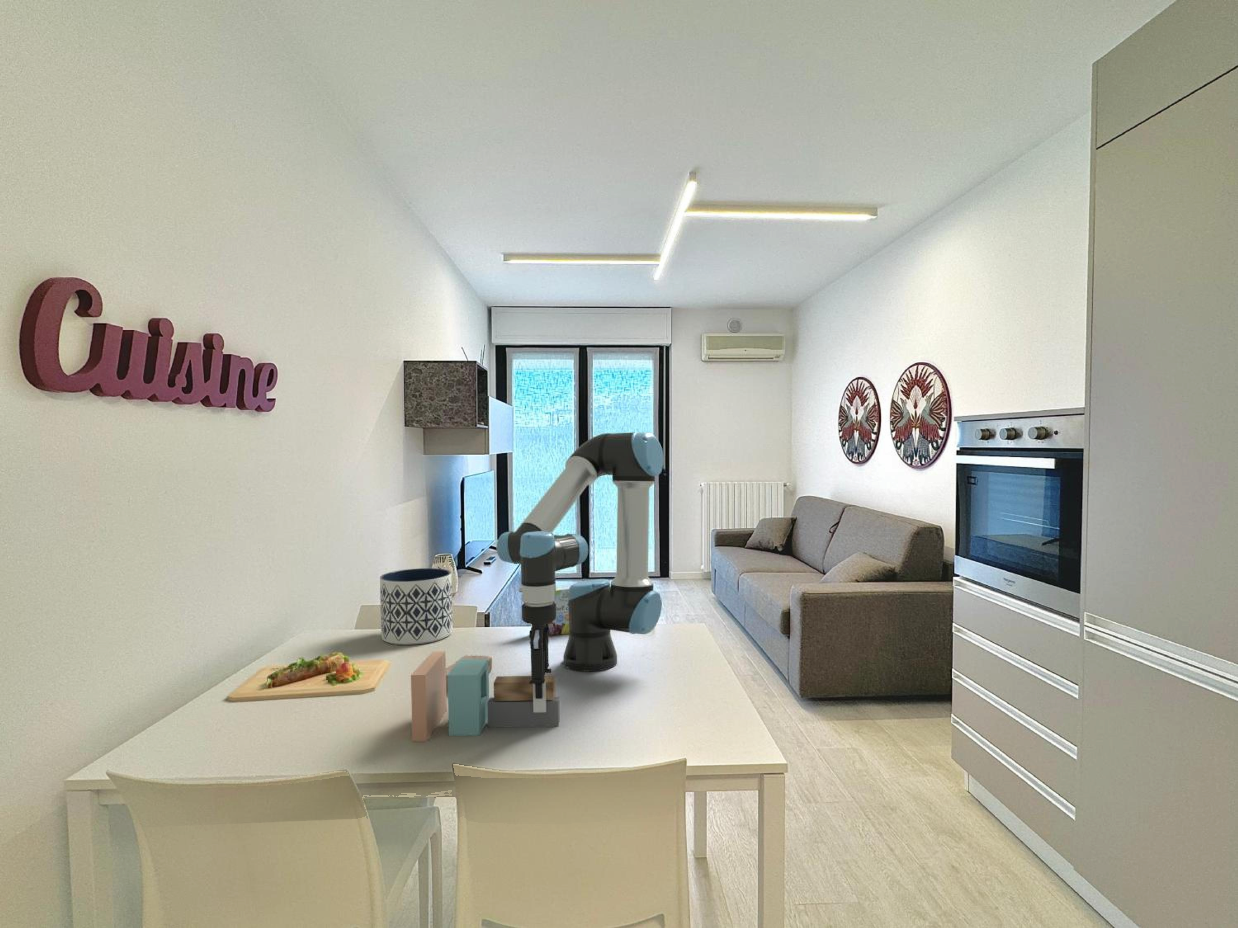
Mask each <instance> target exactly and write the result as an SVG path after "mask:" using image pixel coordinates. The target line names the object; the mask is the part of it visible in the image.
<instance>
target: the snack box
mask: <svg viewBox="0 0 1238 928" xmlns="http://www.w3.org/2000/svg"><path fill="white" fill-rule="evenodd" d="M571 585H572V584H569V585H560V586H556V600H555V601H554V602H555V604H556V619H555V620H554V621H552V622H549V623H546V624H548V625H549V635H548V637H552V636H561V635H566V634H568V635H569V602H568V598H569V588H570V586H571ZM531 627H533V625H532V624H531Z"/></svg>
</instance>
